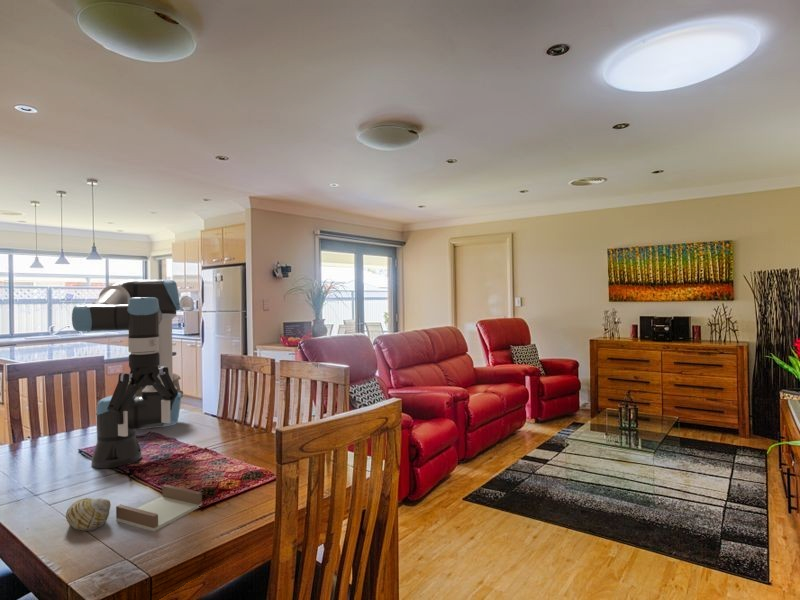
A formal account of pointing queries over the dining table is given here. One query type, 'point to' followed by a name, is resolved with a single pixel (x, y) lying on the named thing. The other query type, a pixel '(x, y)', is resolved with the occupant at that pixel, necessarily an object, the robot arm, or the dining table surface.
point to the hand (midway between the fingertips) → (145, 429)
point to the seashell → (88, 513)
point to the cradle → (161, 508)
